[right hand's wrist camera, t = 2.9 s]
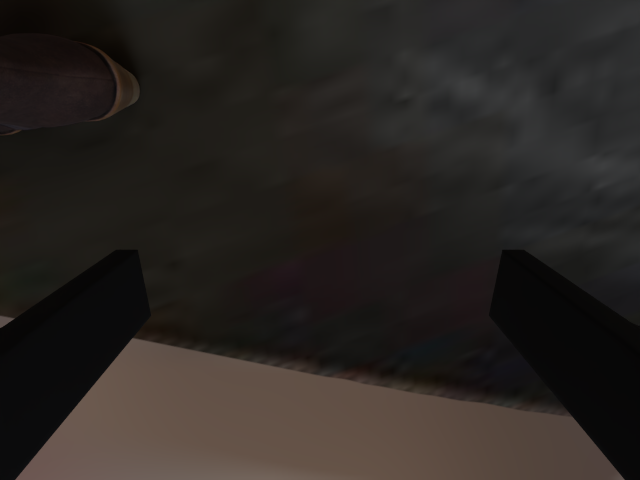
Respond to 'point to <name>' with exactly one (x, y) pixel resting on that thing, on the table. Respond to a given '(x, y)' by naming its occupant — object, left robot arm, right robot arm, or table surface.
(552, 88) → the table surface
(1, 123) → the boot
